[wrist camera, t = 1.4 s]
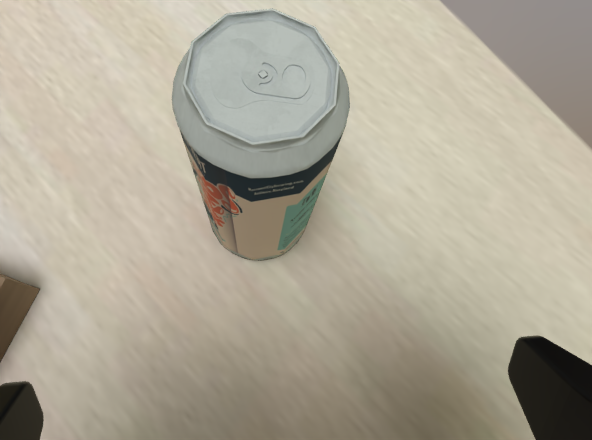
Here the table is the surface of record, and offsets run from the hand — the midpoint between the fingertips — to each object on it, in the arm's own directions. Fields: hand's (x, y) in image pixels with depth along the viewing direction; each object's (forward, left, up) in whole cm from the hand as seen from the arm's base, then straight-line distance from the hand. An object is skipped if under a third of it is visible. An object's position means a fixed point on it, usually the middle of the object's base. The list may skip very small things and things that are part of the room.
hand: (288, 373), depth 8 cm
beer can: (+6, +3, -13) cm, 15 cm away
